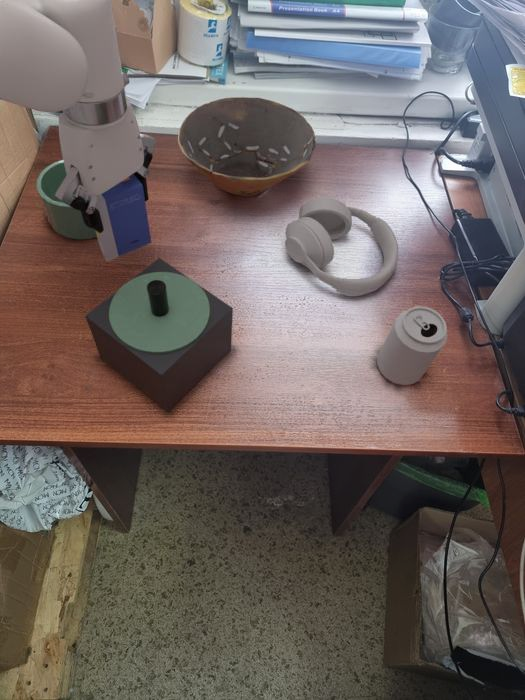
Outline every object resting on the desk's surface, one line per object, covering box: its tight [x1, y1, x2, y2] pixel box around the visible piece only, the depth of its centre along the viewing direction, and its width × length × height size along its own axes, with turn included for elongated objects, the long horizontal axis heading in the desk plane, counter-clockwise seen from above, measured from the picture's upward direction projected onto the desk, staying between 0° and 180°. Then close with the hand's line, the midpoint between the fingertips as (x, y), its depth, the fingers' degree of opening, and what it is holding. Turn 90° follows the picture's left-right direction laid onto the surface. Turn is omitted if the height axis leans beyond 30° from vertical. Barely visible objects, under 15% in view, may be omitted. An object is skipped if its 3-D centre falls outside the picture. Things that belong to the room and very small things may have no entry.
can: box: [376, 305, 448, 386], centre depth 75 cm, size 8×8×12 cm
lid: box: [109, 272, 210, 354], centre depth 66 cm, size 13×13×5 cm
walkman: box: [86, 174, 152, 262], centre depth 76 cm, size 8×3×12 cm, turn 125°
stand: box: [84, 257, 234, 413], centre depth 73 cm, size 14×14×11 cm
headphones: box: [284, 196, 399, 297], centre depth 89 cm, size 18×8×20 cm
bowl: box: [177, 96, 317, 197], centre depth 97 cm, size 25×25×10 cm
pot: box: [36, 159, 97, 240], centre depth 89 cm, size 12×12×8 cm
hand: (118, 211), depth 75 cm, fingers closed on walkman, 8 cm apart
